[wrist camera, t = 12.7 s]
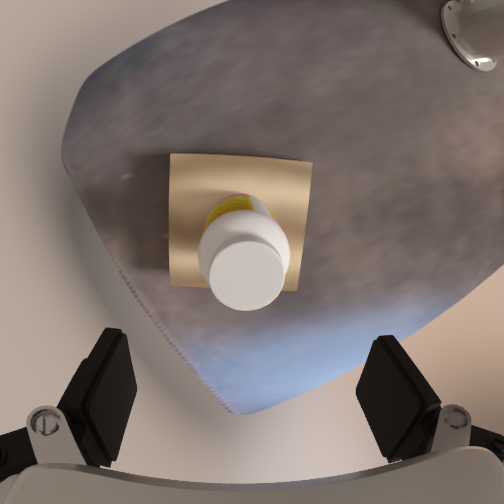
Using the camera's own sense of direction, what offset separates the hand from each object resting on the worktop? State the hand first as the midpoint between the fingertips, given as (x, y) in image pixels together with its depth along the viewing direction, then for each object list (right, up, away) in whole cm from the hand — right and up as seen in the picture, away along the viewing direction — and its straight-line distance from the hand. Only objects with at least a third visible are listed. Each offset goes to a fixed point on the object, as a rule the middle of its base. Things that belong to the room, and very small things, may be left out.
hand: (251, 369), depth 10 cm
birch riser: (-2, +8, +24) cm, 25 cm away
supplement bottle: (-1, +7, +20) cm, 21 cm away
